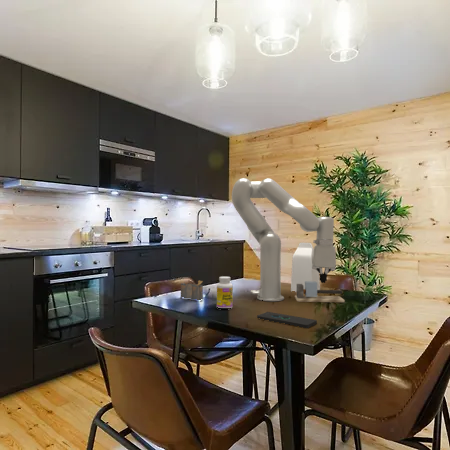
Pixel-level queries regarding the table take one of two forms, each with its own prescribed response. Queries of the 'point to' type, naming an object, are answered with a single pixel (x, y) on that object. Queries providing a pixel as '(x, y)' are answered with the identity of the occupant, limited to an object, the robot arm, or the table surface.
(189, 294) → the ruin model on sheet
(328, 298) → the board
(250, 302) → the table surface
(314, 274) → the milk
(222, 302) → the supplement bottle
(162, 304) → the table surface
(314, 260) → the robot arm
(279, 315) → the dark grey flat block
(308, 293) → the sleeve
